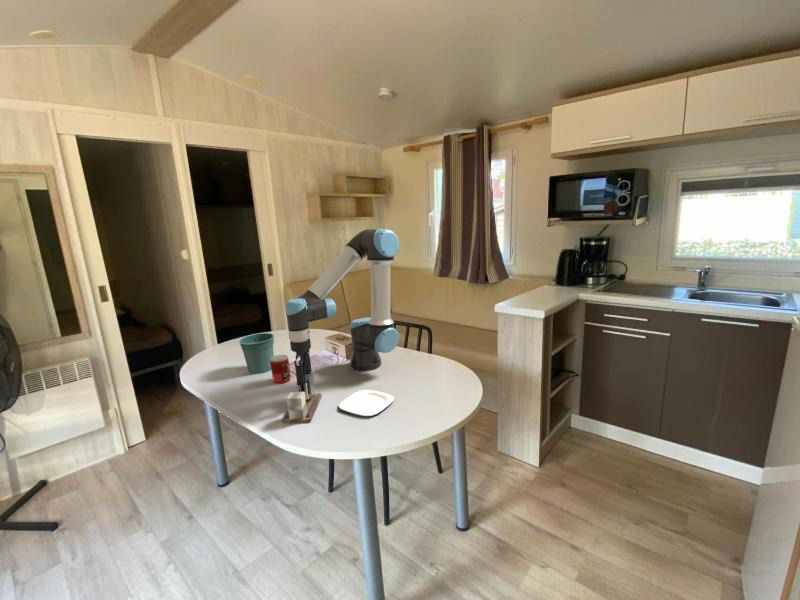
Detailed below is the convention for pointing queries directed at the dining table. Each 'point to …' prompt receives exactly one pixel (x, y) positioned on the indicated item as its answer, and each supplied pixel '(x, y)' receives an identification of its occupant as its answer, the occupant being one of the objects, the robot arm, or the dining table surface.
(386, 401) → the plate
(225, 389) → the dining table surface
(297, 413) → the rail board
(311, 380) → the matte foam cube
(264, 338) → the flower pot
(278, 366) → the canned food
